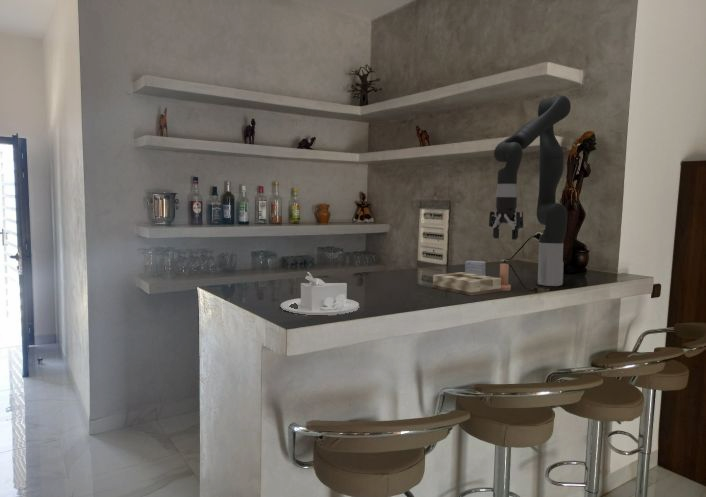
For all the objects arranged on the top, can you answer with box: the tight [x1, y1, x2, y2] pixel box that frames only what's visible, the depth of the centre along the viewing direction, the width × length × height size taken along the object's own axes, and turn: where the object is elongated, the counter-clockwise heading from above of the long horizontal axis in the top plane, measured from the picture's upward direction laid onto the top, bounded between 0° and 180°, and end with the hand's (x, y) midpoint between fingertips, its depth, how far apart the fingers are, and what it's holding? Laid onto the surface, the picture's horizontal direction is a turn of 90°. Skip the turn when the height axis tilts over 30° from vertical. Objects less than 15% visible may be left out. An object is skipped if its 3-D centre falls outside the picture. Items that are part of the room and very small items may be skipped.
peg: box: [499, 263, 512, 292], centre depth 197 cm, size 5×5×10 cm
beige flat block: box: [432, 271, 502, 297], centre depth 197 cm, size 20×16×5 cm
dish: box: [280, 271, 360, 316], centre depth 162 cm, size 25×25×11 cm
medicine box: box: [464, 260, 487, 276], centre depth 217 cm, size 8×4×9 cm, turn 65°
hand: (505, 238), depth 195 cm, fingers open, 8 cm apart
